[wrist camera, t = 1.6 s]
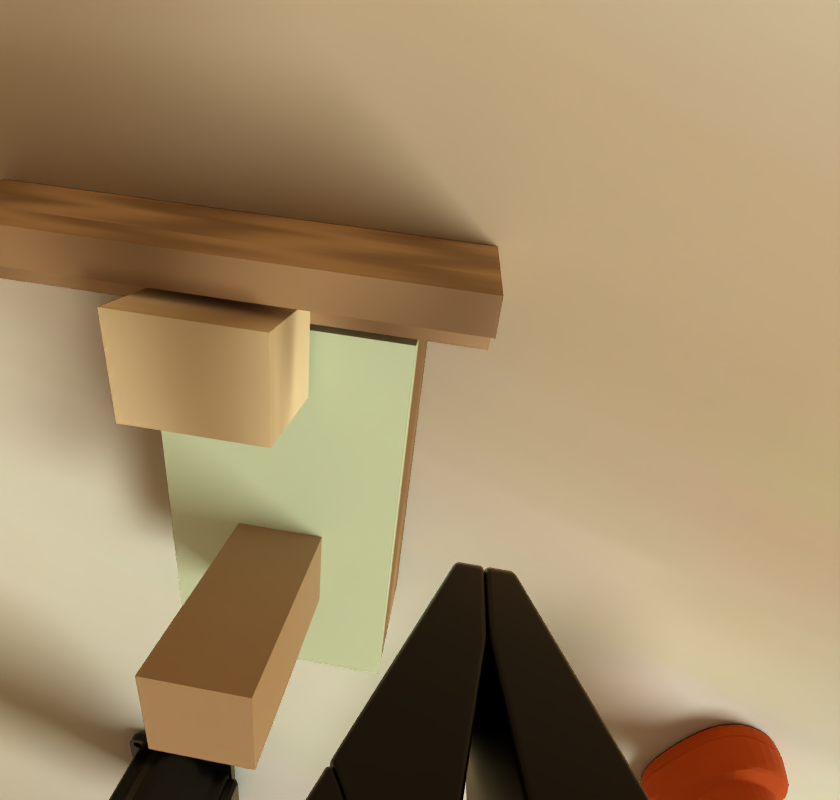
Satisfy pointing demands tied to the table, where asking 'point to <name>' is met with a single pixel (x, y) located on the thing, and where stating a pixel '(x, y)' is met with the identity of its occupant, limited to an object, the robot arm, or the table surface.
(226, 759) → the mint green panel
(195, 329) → the tan rectangular block
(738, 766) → the toy drill
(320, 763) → the table surface
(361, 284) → the tan wooden t-shaped piece
